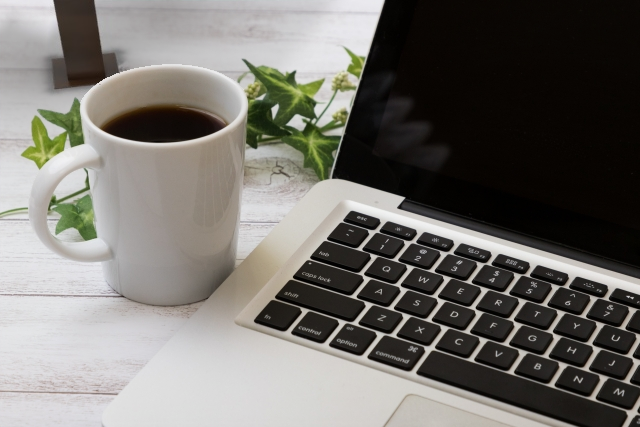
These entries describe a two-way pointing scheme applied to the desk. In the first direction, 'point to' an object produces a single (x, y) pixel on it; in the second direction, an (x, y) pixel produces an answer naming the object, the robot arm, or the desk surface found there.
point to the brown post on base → (80, 46)
